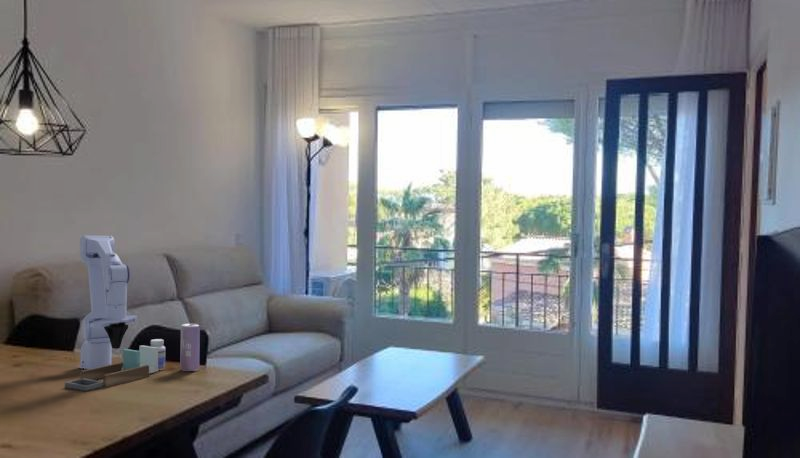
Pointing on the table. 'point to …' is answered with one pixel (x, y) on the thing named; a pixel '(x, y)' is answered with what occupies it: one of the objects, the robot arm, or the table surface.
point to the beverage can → (190, 347)
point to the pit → (84, 384)
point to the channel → (115, 374)
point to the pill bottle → (159, 352)
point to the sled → (141, 358)
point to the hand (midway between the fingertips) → (115, 348)
